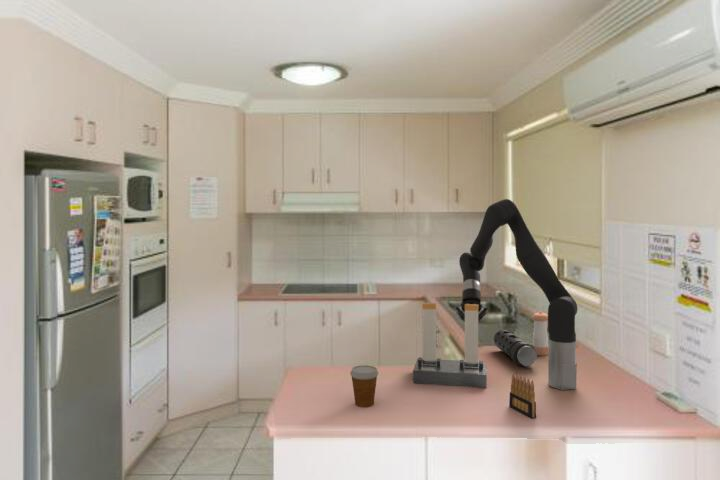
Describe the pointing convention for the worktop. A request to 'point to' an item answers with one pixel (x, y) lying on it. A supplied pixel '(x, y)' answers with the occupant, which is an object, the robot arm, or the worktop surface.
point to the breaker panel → (450, 373)
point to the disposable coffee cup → (364, 384)
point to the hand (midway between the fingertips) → (471, 329)
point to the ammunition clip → (522, 396)
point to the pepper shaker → (540, 333)
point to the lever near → (471, 335)
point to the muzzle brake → (515, 348)
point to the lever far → (429, 333)
